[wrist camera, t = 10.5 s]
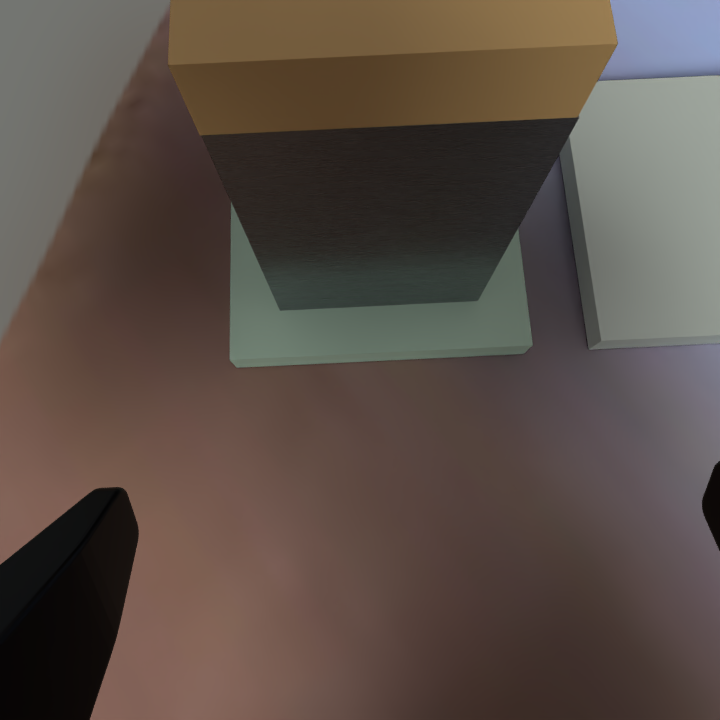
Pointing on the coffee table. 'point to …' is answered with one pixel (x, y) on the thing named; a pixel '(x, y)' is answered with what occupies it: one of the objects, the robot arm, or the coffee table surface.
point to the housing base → (385, 206)
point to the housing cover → (384, 61)
